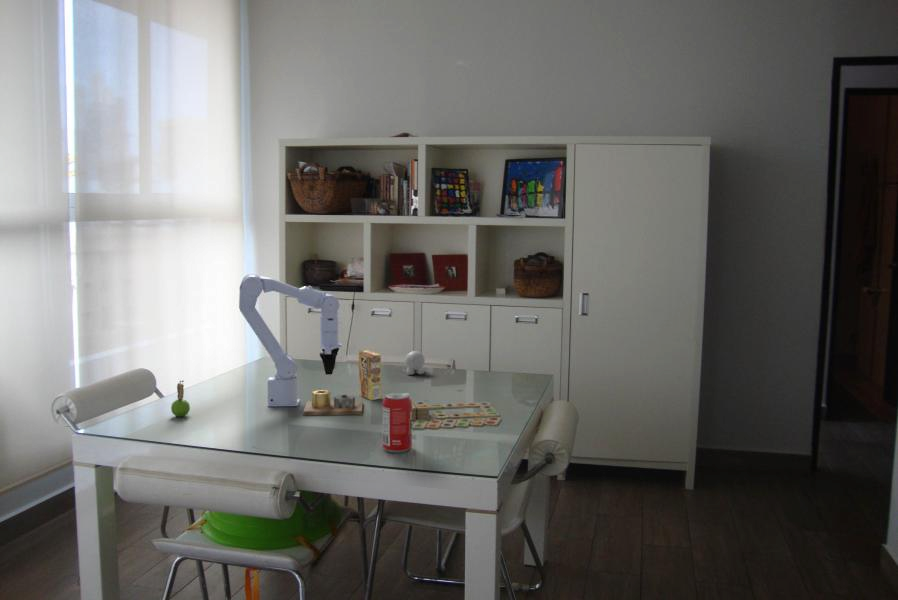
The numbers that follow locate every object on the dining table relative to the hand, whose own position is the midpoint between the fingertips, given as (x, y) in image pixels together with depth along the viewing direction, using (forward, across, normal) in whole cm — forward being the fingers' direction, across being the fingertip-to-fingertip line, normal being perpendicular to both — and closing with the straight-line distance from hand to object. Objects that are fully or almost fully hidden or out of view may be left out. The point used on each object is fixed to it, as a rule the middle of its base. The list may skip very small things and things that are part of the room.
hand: (329, 371), depth 274 cm
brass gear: (+9, -11, +2) cm, 14 cm away
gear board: (+10, -11, -2) cm, 15 cm away
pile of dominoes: (+11, -21, -37) cm, 44 cm away
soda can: (+10, -54, -22) cm, 59 cm away
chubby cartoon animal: (+10, +44, -29) cm, 54 cm away
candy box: (+10, +5, -13) cm, 17 cm away
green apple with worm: (+10, -18, +44) cm, 49 cm away
